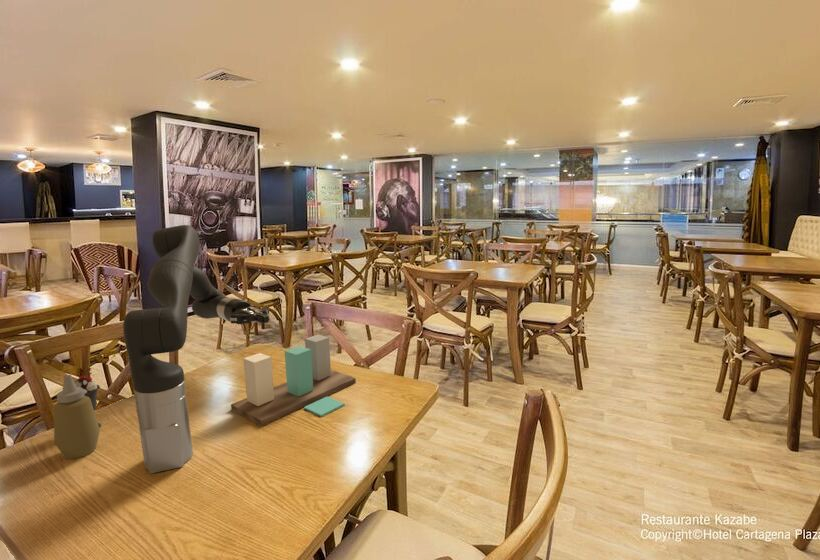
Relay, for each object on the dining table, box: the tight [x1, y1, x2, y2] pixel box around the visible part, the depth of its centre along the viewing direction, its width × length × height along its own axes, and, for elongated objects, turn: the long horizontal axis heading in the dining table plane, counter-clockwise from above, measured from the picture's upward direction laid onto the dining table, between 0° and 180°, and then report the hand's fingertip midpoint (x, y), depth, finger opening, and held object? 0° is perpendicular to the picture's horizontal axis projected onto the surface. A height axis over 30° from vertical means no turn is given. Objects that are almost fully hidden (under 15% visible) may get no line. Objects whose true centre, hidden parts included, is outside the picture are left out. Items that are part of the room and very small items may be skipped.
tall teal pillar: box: [284, 345, 313, 397], centre depth 123 cm, size 5×5×12 cm
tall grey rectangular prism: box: [304, 334, 332, 381], centre depth 133 cm, size 5×5×12 cm
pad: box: [303, 395, 346, 418], centre depth 118 cm, size 7×8×1 cm
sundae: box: [74, 367, 102, 429], centre depth 107 cm, size 7×7×15 cm
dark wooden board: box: [230, 369, 357, 427], centre depth 125 cm, size 14×32×2 cm, turn 141°
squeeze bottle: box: [52, 374, 101, 459], centre depth 97 cm, size 8×8×18 cm
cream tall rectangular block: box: [243, 352, 274, 406], centre depth 118 cm, size 5×5×12 cm
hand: (266, 319), depth 129 cm, fingers closed
